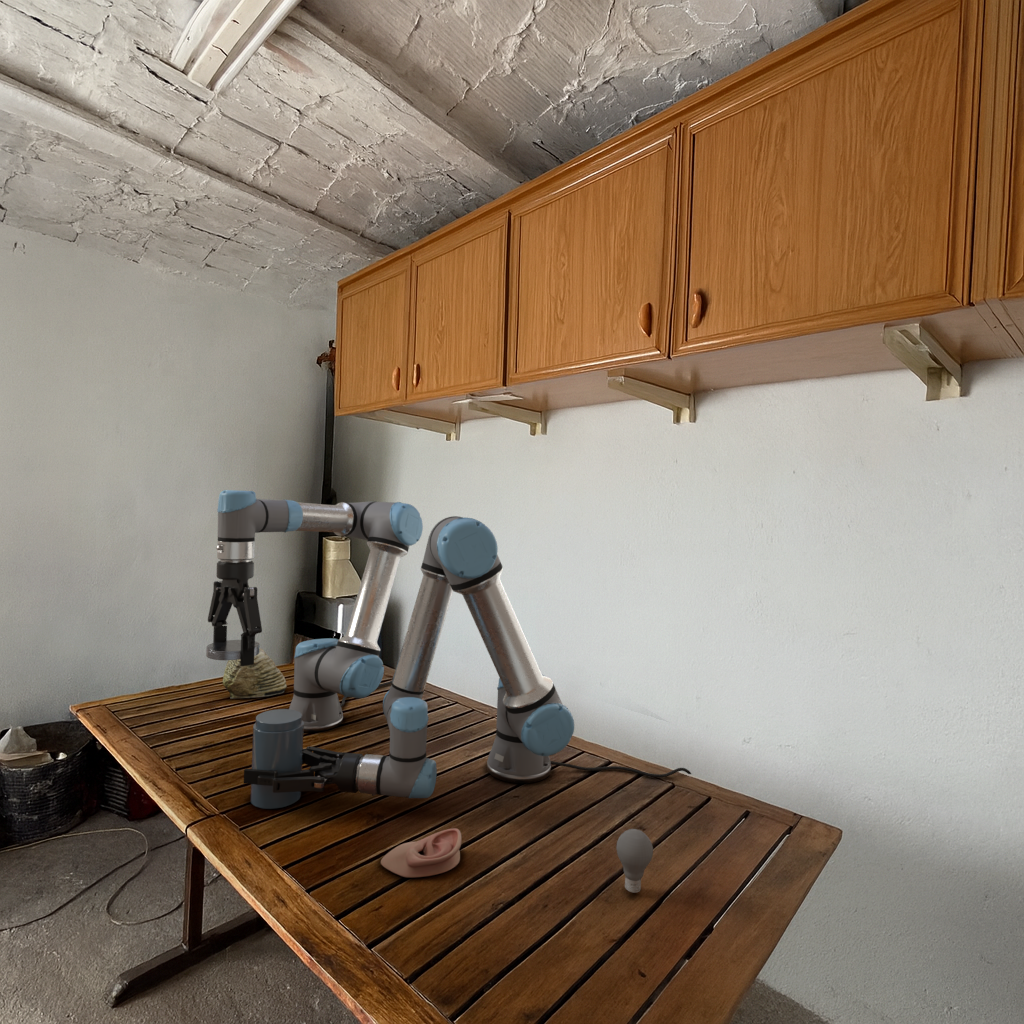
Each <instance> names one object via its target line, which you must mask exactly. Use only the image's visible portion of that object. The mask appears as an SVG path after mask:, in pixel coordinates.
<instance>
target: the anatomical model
mask: <svg viewBox="0 0 1024 1024" xmlns="http://www.w3.org/2000/svg"><path fill="white" fill-rule="evenodd" d="M461 846H462V832H461V830H460V829H458V828H455V827H454V828H453V827H452V828H448V829H443V830H440V831H437V832H435V833H433V834H430V835H428V836H426V837H424V838H421V839H419V840H416V841H409V842H404V843H402V844H399V845H397V846H396V847H394V848H392V849H391V850H389V851H388V852H387V853H386V854H385V855H384V856H383V857H382V858H381V860H380V865H381V866H382V867H383V868H384V869H386V870H388V871H390V872H391V873H393V874H395V875H398V876H400V877H402V878H408V879H409V878H423V877H431V876H435V875H439V874H443V873H446V872H449V871H450V870H452V869H454V868H456V867H457V866H458V864H459V863H460V861H461V852H460V849H461Z"/></svg>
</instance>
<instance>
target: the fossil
mask: <svg viewBox="0 0 1024 1024" xmlns="http://www.w3.org/2000/svg"><path fill="white" fill-rule="evenodd" d="M240 661H241V659H240V660H227V663H226V666H225V668H224V671H223V675H222V676H223V677H222V685H223V687H224V688H225V690H226V691H228V693H229V698H230V699H250V698H264V697H271V696H275V695H281V694H284V693H285V691H286V689H287V687H288V686H287V680H286V678H285V676H284V674H283V673H282V672H281V669H279V668H278V667H277V665H276V663H275V662H274V660H273V659H272V658H271V657H270V656H269V655H268V654H267V653H266V652H265V650H264V649H263V648H260V647H259V654H258V655H256V656H254V664H252V665H247V666H240Z"/></svg>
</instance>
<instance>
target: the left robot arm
mask: <svg viewBox="0 0 1024 1024" xmlns="http://www.w3.org/2000/svg"><path fill="white" fill-rule="evenodd" d="M423 529H424V526H423V519H422V517H421V513H420V512H419V510H418V509H417V508H416V507H415V506H414V505H412V504H410V503H406V502H405V503H404V502H400V501H397V502H393V501H374V500H373V501H372V500H370V501H359V502H345V501H344V502H343V501H341V502H337V503H336V504H323V503H322V504H321V503H311V502H301V501H300V502H298V501H296V500H292V499H271V498H257V495H256V492H255V491H253V490H240V489H239V490H237V489H235V490H234V489H233V490H232V489H224V490H222V491H221V492H219V496H218V503H217V546H216V547H215V549H216V552H217V553H216V558H217V560H219V561H217V562H216V574H215V575H216V578H217V579H219V580H216V581H213V591H212V596H211V600H210V607H209V611H208V615H207V622H208V623H211V626H212V627H213V638H212V639H213V641H212V643H215V642H220V641H227V640H228V636H227V635H228V626H227V625H228V624H229V623H228V621H227V619H228V617H229V614H230V612H231V609H232V606H233V608H235V609H236V613H237V616H238V619H239V622H240V626H241V629H242V633H241V634H240V640H241V661H240V666H247V665H252V664H254V649H255V641H256V635H257V634H261V633H262V632H263V628H262V621H261V614H260V607H259V601H258V587H257V586H253V587H252V586H250V585H249V580H251V579H252V578H254V576H255V562H254V561H253V559H255V547H256V545H255V542H256V541H255V539H256V538H255V537H256V533H257V534H259V533H287V532H295V531H296V532H297V531H298V532H317V533H318V532H319V533H321V532H322V533H334V535H336V536H339V537H349V538H354V539H359V540H364V541H366V545H367V547H368V548H369V550H370V551H369V554H368V557H367V559H366V565H365V568H364V572H363V574H362V578H361V582H360V585H359V588H358V592H357V595H356V598H355V602H354V606H353V608H352V612H351V615H350V619H349V622H348V626H347V629H346V632H345V635H344V636H342V637H340V638H339V639H338V638H335V637H334V638H331V637H329V638H315V639H308V640H304V641H301V642H299V643H298V644H297V645H296V646H295V652H294V656H293V659H294V661H293V662H294V670H293V671H294V672H293V695H292V696H293V697H292V699H291V702H290V704H289V708H288V709H291V710H296V711H299V712H300V713H301V714H302V716H303V717H302V720H303V722H304V731H303V733H316V732H325V731H329V730H332V729H335V728H337V727H339V726H340V725H342V723H343V722H344V714H343V709H342V707H344V706H345V704H346V699H347V698H354V699H365V698H367V697H369V696H370V695H371V694H372V693H374V692H375V691H376V690H377V689H378V688H381V687H385V686H388V685H391V684H392V680H390V681H386V682H383V683H381V682H382V680H383V677H384V673H385V667H384V663H383V660H382V659H381V658H380V654H381V648H380V646H379V644H378V640H379V636H380V633H381V630H382V625H383V622H384V619H385V615H386V611H387V608H388V605H389V601H390V596H391V593H392V590H393V586H394V582H395V580H396V575H397V571H398V569H399V565H400V561H401V559H402V558H403V557H405V556H406V555H408V553H409V549H410V546H414V545H416V544H417V542H419V541H420V540H421V538H422V535H423ZM338 694H339V695H342V696H343V697H342V699H341V702H340V699H339V695H338Z"/></svg>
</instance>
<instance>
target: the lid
mask: <svg viewBox="0 0 1024 1024" xmlns="http://www.w3.org/2000/svg"><path fill="white" fill-rule="evenodd" d="M260 646H261V645H260V642H258V641H256V640H255V649H254V656H256V655H258V654H259V648H260ZM205 648H206V649H205V650H206V652H205V655H206V658H207V659H210V660H215V661H228V660H240V659H241V639H227V641H220V642H215V643H213V642H211V643H209V644H208V645H207V646H206V647H205Z"/></svg>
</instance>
